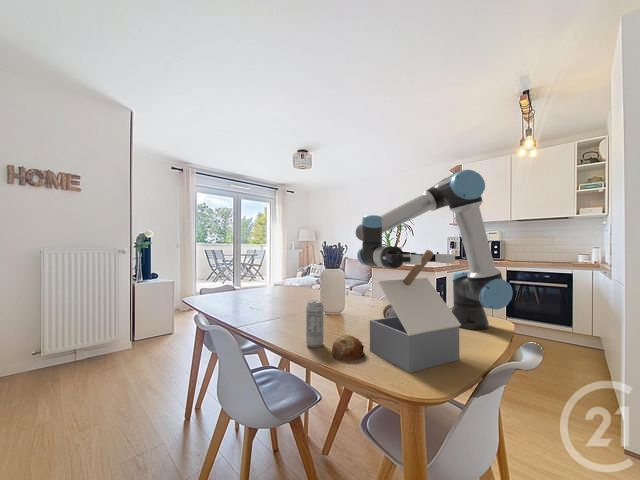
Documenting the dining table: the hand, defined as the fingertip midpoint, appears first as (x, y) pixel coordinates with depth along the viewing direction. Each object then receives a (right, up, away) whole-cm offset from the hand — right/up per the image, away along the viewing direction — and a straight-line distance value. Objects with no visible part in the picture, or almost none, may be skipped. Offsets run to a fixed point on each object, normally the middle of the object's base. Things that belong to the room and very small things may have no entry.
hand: (437, 259), depth 80 cm
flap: (-3, -14, +6) cm, 16 cm away
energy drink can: (-36, -31, +18) cm, 51 cm away
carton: (-4, -31, +8) cm, 32 cm away
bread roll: (-25, -31, +9) cm, 41 cm away
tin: (+2, -32, +45) cm, 55 cm away
